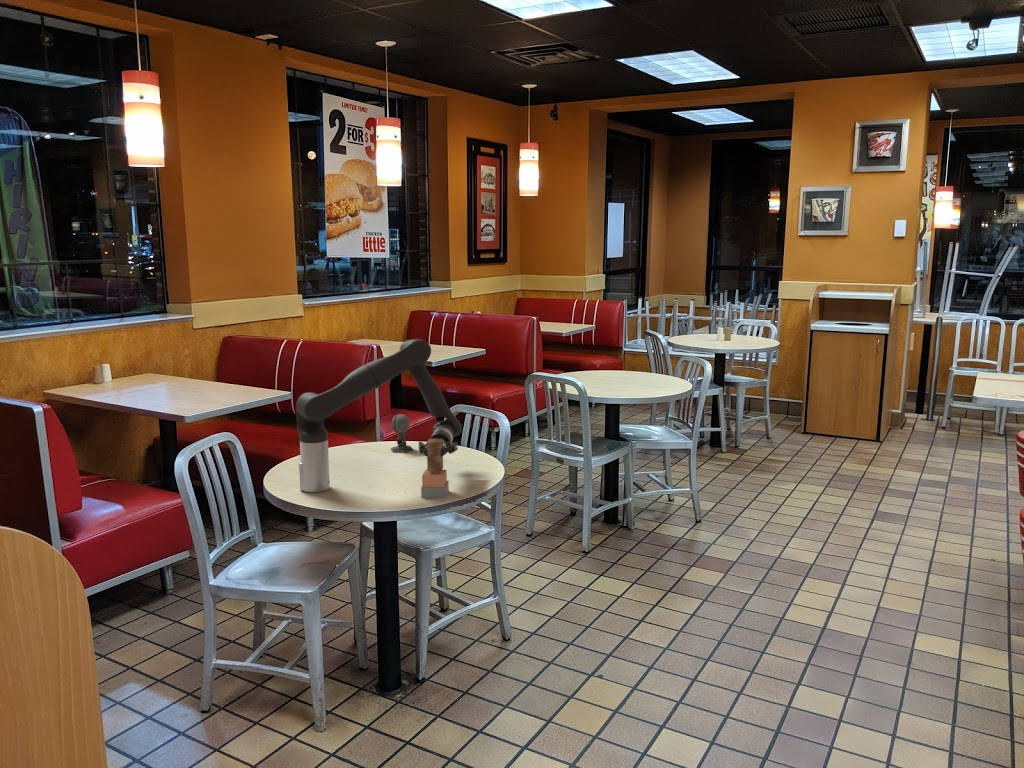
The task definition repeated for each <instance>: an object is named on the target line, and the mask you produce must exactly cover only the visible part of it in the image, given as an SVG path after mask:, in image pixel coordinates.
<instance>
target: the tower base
mask: <svg viewBox="0 0 1024 768" xmlns="http://www.w3.org/2000/svg"><path fill="white" fill-rule="evenodd" d="M449 486H450V485H449V480H447V481H446V483H445V485H444V487H422V486H421V487H420V491H421V492H420V495H421V496H420V497H421V499H446V498H447V496H448V493H449V488H450V487H449Z"/></svg>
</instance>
